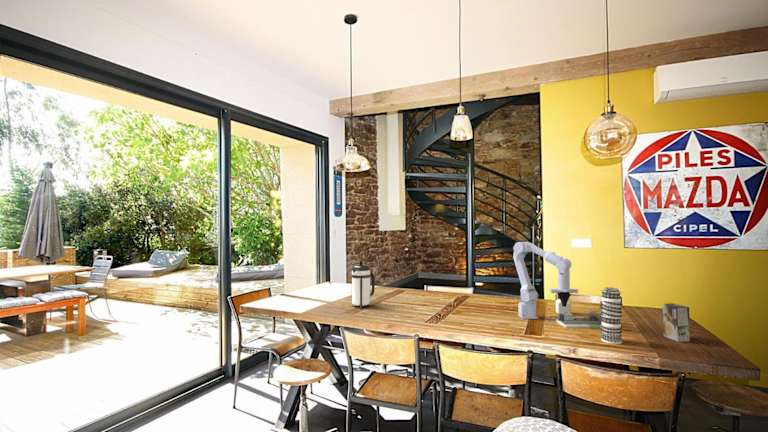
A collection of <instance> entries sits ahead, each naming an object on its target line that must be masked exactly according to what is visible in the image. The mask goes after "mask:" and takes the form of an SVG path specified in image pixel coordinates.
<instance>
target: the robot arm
mask: <svg viewBox="0 0 768 432" xmlns="http://www.w3.org/2000/svg"><path fill="white" fill-rule="evenodd" d="M512 249H513V257H512V258H513V261H514V265H515V269H516V271H517V275H518V278H519V281H520V285H521V288H520V291H519V292H520V299H521V300H522V301H520V302H518V306H517V307H518V308H517V310H518V314H517V316H518V317H519V318H521V319H523V320H524V319H527V320H531V319H532V320H539V319H540V318H539V317H538V316H537V300H538V298H539V293H538V292H537V290H536V288H535V286H533V284H532V283H531V278H530V276H529V273H528V269H527V267H526V263H525V257H526V255H527V254H529V253H534V254H536V255H538V256H541V257H542V258H544V260H545V262H547V263H549V264H551V265H553V266H555V267H556V268H557V273H558V274H557V283H558V284H557V288H551V289H550V288H549V293H550V294H556V295H557V297H558V296H559V298H560V300H561V303H562V306H563V307H566V304H567V301H568V299H569V300H570V297H571V295H572V294H579V289H578V288H571V287H570V286H571V284H570V282H571V281H570V280H571V279H570V272H571V270H570V268H572V262H571V260H570V259H568V258H564V256H560V255H558V254H556V252H554V251H553V252H552V251H549V252H547V251H546V250H544V249H542V248H540V247H539V246H537V245H535V244H534V243H532V242H529V241H518V242H515V244H514V245H513V247H512Z"/></svg>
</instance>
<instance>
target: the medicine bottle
mask: <svg viewBox="0 0 768 432" xmlns="http://www.w3.org/2000/svg"><path fill="white" fill-rule="evenodd" d="M569 300H570V298H569V299H568V301H567V304H566V307H563V306H562V303H561V300H560V298H559V296H558V295H557V299H556V300H555V312H556V313H557V314H558V315H560V313H571V314H572V303H571V302H570V301H569Z"/></svg>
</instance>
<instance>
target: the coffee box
mask: <svg viewBox="0 0 768 432" xmlns="http://www.w3.org/2000/svg"><path fill="white" fill-rule="evenodd" d="M662 332H663V333H662V336H663V337H665V338H667V339H670V340H673V341H675V342H678V343H680V342H681V343H682V342H683V343H685V342H691V341H690V337H691V336H690V333H691V331H690V307H689V306H685V305H681V304H678V303H672V302H670V303H662Z"/></svg>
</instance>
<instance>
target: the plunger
mask: <svg viewBox="0 0 768 432" xmlns="http://www.w3.org/2000/svg"><path fill="white" fill-rule="evenodd" d="M559 318H560V321H562V322H563V321H574V320H576V318H577V317H575V316H574V314H573V313H572V312H571V313H560V314H559Z"/></svg>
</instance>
